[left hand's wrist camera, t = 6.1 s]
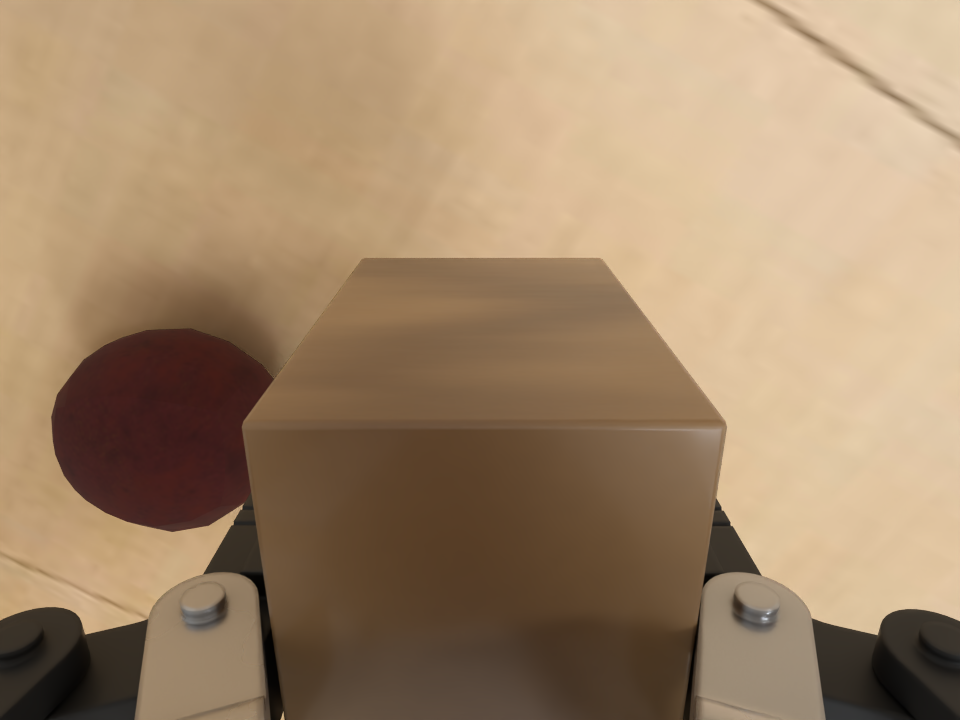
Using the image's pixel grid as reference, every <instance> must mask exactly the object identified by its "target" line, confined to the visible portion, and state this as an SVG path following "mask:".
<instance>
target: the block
mask: <svg viewBox="0 0 960 720" xmlns="http://www.w3.org/2000/svg"><path fill="white" fill-rule="evenodd" d="M726 429H727V425H726V422H725V420H724V419H723V418H722V416H721V415H720V414H719V412H718V411H717V410H716V408H715V407H714V406H713V404H712V403H711V402H710V400H709V399H708V398H707V396H706V395H705V394H704V393H703V391H702V390H701V389H700V387H699V386H698V385H697V383H696V382H695V381H694V379H693V378H692V377H691V375H690V374H689V373H688V371H687V370H686V369H685V368H684V366H683V365H682V364H681V362H680V361H679V360H678V358H677V357H676V356H675V354H674V353H673V352H672V350H671V349H670V348H669V346H668V345H667V344H666V342H665V341H664V340H663V339H662V337H661V336H660V335H659V333H658V332H657V331H656V329H655V328H654V327H653V325H652V324H651V323H650V321H649V320H648V319H647V317H646V316H645V315H644V313H643V312H642V311H641V310H640V308H639V307H638V306H637V304H636V303H635V302H634V300H633V299H632V298H631V296H630V295H629V294H628V292H627V291H626V290H625V288H624V287H623V286H622V284H621V283H620V282H619V281H618V279H617V278H616V277H615V275H614V274H613V273H612V271H611V270H610V269H609V267H608V266H607V265H606V263H605V262H604V261H603V259H600V258H364V259H362V260H361V261H360V263H359V264H358V266H357V267H356V268H355V270H354V271H353V272H352V274H351V275H350V276H349V278H348V279H347V281H346V282H345V283H344V285H343V286H342V287H341V289H340V290H339V291H338V293H337V294H336V296H335V297H334V298H333V300H332V301H331V302H330V304H329V305H328V307H327V308H326V309H325V311H324V312H323V313H322V315H321V316H320V317H319V319H318V320H317V322H316V323H315V324H314V326H313V327H312V328H311V330H310V331H309V332H308V334H307V335H306V337H305V338H304V339H303V341H302V342H301V343H300V345H299V346H298V347H297V349H296V350H295V352H294V353H293V354H292V356H291V357H290V358H289V360H288V361H287V363H286V364H285V365H284V367H283V368H282V369H281V371H280V372H279V373H278V375H277V376H276V378H275V379H274V380H273V382H272V383H271V384H270V386H269V387H268V388H267V390H266V391H265V393H264V394H263V395H262V397H261V398H260V399H259V401H258V402H257V403H256V405H255V406H254V408H253V409H252V410H251V412H250V413H249V414H248V416H247V417H246V419H245V420H244V421H243V424H242V432H243V439H244V446H245V453H246V459H247V466H248V473H249V480H250V487H251V493H252V500H253V507H254V514H255V521H256V528H257V534H258V541H259V548H260V555H261V562H262V568H263V575H264V582H265V589H266V596H267V602H268V609H269V616H270V623H271V630H272V636H273V643H274V650H275V657H276V664H277V670H278V677H279V684H280V691H281V698H282V705H283V711H284V718H285V720H683V714H684V707H685V701H686V694H687V687H688V681H689V674H690V668H691V661H692V654H693V648H694V641H695V634H696V628H697V621H698V615H699V608H700V601H701V595H702V588H703V582H704V575H705V568H706V562H707V555H708V549H709V542H710V535H711V529H712V522H713V515H714V509H715V502H716V496H717V489H718V482H719V476H720V469H721V463H722V456H723V449H724V443H725V436H726Z"/></svg>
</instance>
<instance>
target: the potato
mask: <svg viewBox="0 0 960 720" xmlns="http://www.w3.org/2000/svg"><path fill="white" fill-rule="evenodd" d="M273 380H274V379H273V378H272V377H271V375H270V374H269V373H268V372H267V371H266V369H265V368H264V367H263V366H262V364H260V363H259V362H257V361H256V360H254V359H253V358H251V357H250V356H249V355H247V354H246V353H244V352H243V351H241V350H240V349H239V348H237V347H236V346H234V345H233V344H231V343H230V342H228V341H226V340H223V339H220V338H217V337H214V336H211V335H208V334H205V333H202V332H199V331H196V330H193V329H166V330H146V331H143V332H139V333H136V334H133V335H129V336H126V337H123V338H120V339H118V340H116V341H113V342H111V343H109V344H107V345H105V346H103V347H102V348H100V349H99V350H97V351H96V352H94V353H93V354H91V355H90V356H88V357H87V358H86V359H84V360H83V361H82V363H81V364H80V365H79V366H78V368H77V369H76V370H75V372H74V373H73V374H72V375H71V377H70V378H69V379H68V381H67V382H66V383H65V385H64V386H63V387H62V389H61V390H60V392H59V393H58V394H57V397H56V401H55V405H54V409H53V413H52V416H51V419H52V434H53V444H54V449H55V455H56V457H57V460H58V462H59V464H60V467H61V469H62V472H63V474H64V476H65V477H66V479H67V480H68V481H69V483H70V484H71V485H72V487H73V488H74V489H75V490H76V491H77V492H78V493H79V494H80V495H81V496H82V497H83V498H84V499H85V500H86V501H88V502H90V503H91V504H93V505H94V506H96V507H97V508H99V509H101V510H102V511H104V512H105V513H108V514H110V515H112V516H115V517H117V518H120V519H122V520H124V521H127V522H130V523H134V524H138V525H142V526H147V527H152V528H156V529H161V530H166V531H171V532H174V531H180V530H186V529H192V528H198V527H203V526H209V525H210V524H212V523H214V522H215V521H217V520H218V519H220V518H222V517H223V516H225V515H226V514H228V513H229V512H231V511H233V510H234V509H236V508H237V507H239V506H240V505H242V504H244V503H245V501H246V500H247V498H248V496H249V494H250V493H251V487H250V480H249V473H248V466H247V459H246V453H245V446H244V439H243V432H242V424H243V421H244V420H245V419H246V417H247V416H248V414H249V413H250V412H251V410H252V409H253V408H254V406H255V405H256V403H257V402H258V401H259V399H260V398H261V397H262V395H263V394H264V393H265V391H266V390H267V388H268V387H269V386H270V384H271V383H272V382H273Z"/></svg>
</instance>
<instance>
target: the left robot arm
mask: <svg viewBox="0 0 960 720" xmlns="http://www.w3.org/2000/svg"><path fill="white" fill-rule="evenodd" d="M282 713H283V705H282V698H281V691H280V684H279V677H278V670H277V664H276V657H275V650H274V643H273V636H272V630H271V623H270V616H269V609H268V602H267V596H266V589H265V582H264V575H263V568H262V562H261V555H260V548H259V541H258V534H257V528H256V521H255V514H254V507H253V500H252V493H250V494H249V496H248V498H247V500H246V501H245V503H244V505H243V509H242V510H240V512H239V513H238V515H237V517H236V519H235V520H234V525H232V526H231V527H230V529H229V531H228V532H227V534H226V536H225V538H224V539H223V541H222V543H221V545H220V546H219V548H218V550H217V551H216V553H215V555H214V557H213V558H212V560H211V562H210V564H209V565H208V567H207V569H206V570H205V572H204V574H203V575H200V576H196V577H194V578H191V579H188V580H186V581H184V582H182V583H180V584H178V585H176V586H175V587H173V588H171V589H170V590H169V591H167V592H166V593H165V594H164V595H163V596H162V597H161V598H160V599H159V600H158V601H157V602H156V603H155V605H154V606H153V608H152V610H151V612H150V615H149V618H148V619H147V620H144V621H141V622H138V623H134V624H130V625H126V626H121V627H117V628H113V629H108V630H104V631H100V632H95V633H91V634H86V635H85V633H84V630H83V626H82V623H81V620H80V618H79V617H78V616H77V615H76V613H74V612H72V611H70V610H67V609H64V608H57V607H45V608H37V609H32V610H28V611H24V612H21V613H18V614H15V615H12V616H10V617H7V618H5V619H3V620H1V621H0V720H281V716H282ZM683 720H960V621H958V620H955V619H953V618H950V617H948V616H945V615H942V614H938V613H935V612H930V611H925V610H917V609H905V610H898V611H895V612H892V613H890V614H889V615H887V616H886V617H885V618H884V619H883V621H882V623H881V626H880V629H879V633H878V635H874V634H869V633H865V632H861V631H856V630H852V629H847V628H843V627H839V626H834V625H831V624H827V623H823V622H820V621H818V620H815V619H812V618H811V615H810V612H809V610H808V608H807V606H806V605H805V603H804V602H803V601H802V600H801V599H800V598H799V597H798V596H797V595H796V594H795V593H794V592H793V591H791V590H790V589H789V588H787V587H785V586H784V585H782V584H780V583H778V582H776V581H774V580H772V579H769V578H766V577H764V576H762V575H761V574H760V572H759V570H758V569H757V567H756V565H755V563H754V562H753V560H752V558H751V557H750V555H749V553H748V552H747V550H746V548H745V546H744V545H743V543H742V541H741V540H740V538H739V536H738V534H737V533H736V531H735V529H734V528H733V526H731V525H730V521H729V519H728V517H727V516H726V514H725V512H724V511H722V510H721V506H720V504H719V502H718V500H717V499H716V502H715V509H714V515H713V522H712V529H711V535H710V542H709V549H708V555H707V562H706V568H705V575H704V582H703V588H702V595H701V601H700V608H699V615H698V621H697V628H696V634H695V641H694V648H693V654H692V661H691V668H690V674H689V681H688V687H687V694H686V701H685V707H684V714H683Z"/></svg>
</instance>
